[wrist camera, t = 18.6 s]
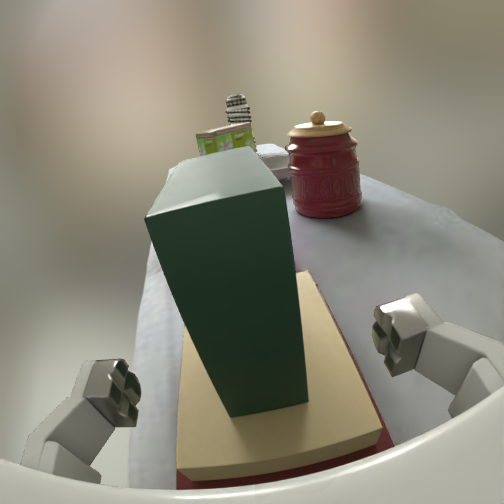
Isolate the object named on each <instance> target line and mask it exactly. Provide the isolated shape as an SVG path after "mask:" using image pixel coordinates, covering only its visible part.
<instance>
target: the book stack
mask: <svg viewBox="0 0 504 504" xmlns="http://www.w3.org/2000/svg"><path fill="white" fill-rule="evenodd" d="M296 278H297V286H298V295H299V303H300V312H301V321H302V331H303V341H304V351H305V361H306V372H307V384H308V396H309V402H307V403H303V404H299V405H295V406H290V407H286V408H281V409H277V410H272V411H267V412H262V413H256V414H251V415H245V416H239V417H232V418H230V417H229V415H228V413H227V411H226V409H225V407H224V406H223V404H222V402H221V400H220V398H219V396H218V394H217V392H216V390H215V388H214V386H213V384H212V382H211V380H210V378H209V376H208V374H207V372H206V370H205V368H204V365H203V363H202V361H201V359H200V357H199V355H198V353H197V351H196V348H195V346H194V344H193V342H192V340H191V337H190V335H189V333H188V331H187V328H186V326H185V325H184V335H183V346H182V358H181V371H180V385H179V401H178V420H177V445H176V469H177V490H199V489H217V488H229V487H239V486H248V485H255V484H262V483H269V482H274V481H280V480H285V479H290V478H295V477H300V476H304V475H309V474H313V473H317V472H321V471H324V470H328V469H332V468H335V467H339V466H342V465H345V464H348V463H351V462H355V461H358V460H361V459H363V458H366V457H369V456H372V455H375V454H377V453H380V452H383V451H385V450H388V449H390V448H393V447H394V444H393V442H392V440H391V437H390V435H389V433H388V431H387V428H386V426H385V424H384V421H383V419H382V417H381V415H380V412H379V410H378V408H377V406H376V404H375V401H374V399H373V397H372V395H371V393H370V391H369V388H368V386H367V384H366V382H365V380H364V378H363V376H362V373H361V371H360V369H359V367H358V365H357V363H356V361H355V359H354V357H353V355H352V353H351V351H350V348H349V346H348V344H347V342H346V340H345V338H344V336H343V334H342V332H341V330H340V328H339V326H338V324H337V322H336V320H335V318H334V316H333V314H332V312H331V310H330V308H329V306H328V304H327V302H326V300H325V299H324V297H323V295H322V293H321V291H320V289H319V287H318V285H317V284H315V283H314V281H313V279H312V277H311V275H310V273H309V272H308V270H307V271H303V272H298V273H296Z"/></svg>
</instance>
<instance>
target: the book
mask: <svg viewBox="0 0 504 504" xmlns="http://www.w3.org/2000/svg"><path fill="white" fill-rule="evenodd" d="M144 220H145V223H146V225H147V229H148V232H149V234H150V237H151V240H152V243H153V246H154V248H155V251H156V254H157V257H158V259H159V262H160V265H161V267H162V270H163V272H164V275H165V278H166V280H167V283H168V285H169V288H170V290H171V293H172V295H173V298H174V300H175V302H176V305H177V307H178V310H179V312H180V314H181V317H182V319H183V321H184V324H185V326H186V328H187V331H188V333H189V335H190V337H191V340H192V342H193V344H194V346H195V348H196V351H197V353H198V355H199V357H200V359H201V361H202V363H203V365H204V368H205V370H206V372H207V374H208V376H209V378H210V380H211V382H212V384H213V386H214V388H215V390H216V392H217V394H218V396H219V398H220V400H221V402H222V404H223V406H224V407H225V409H226V411H227V413H228V415H229V417H230V418H232V417H239V416H245V415H251V414H256V413H262V412H267V411H272V410H277V409H281V408H286V407H290V406H295V405H299V404H303V403H307V402H309V396H308V384H307V372H306V361H305V351H304V341H303V331H302V321H301V312H300V303H299V295H298V286H297V278H296V270H295V262H294V254H293V247H292V240H291V232H290V225H289V218H288V211H287V205H286V198H285V191H284V187H283V186H282V184H281V183H280V182H279V181H278V179H277V178H276V177H275V176H274V175H273V173H272V172H271V171H270V170H269V168H268V167H267V166H266V165H265V164H264V162H263V161H262V160H261V159H260V158H259V156H258V155H257V154H256V153H255V152H254V150H253V149H252V148H251V147H250V146H245V147H240V148H236V149H231V150H226V151H222V152H217V153H213V154H208V155H204V156H200V157H196V158H192V159H188V160H184V161H181V162H180V163H179V164H178V166H177V167H176V169H175V170H174V172H173V173H172V175H171V176H170V178H169V179H168V181H167V182H166V184H165V186H164V187H163V189H162V190H161V192H160V194H159V195H158V197H157V198H156V200H155V202H154V203H153V205H152V206H151V208H150V210H149V211H148V213H147V215H146V216H145V219H144Z"/></svg>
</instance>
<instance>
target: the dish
mask: <svg viewBox="0 0 504 504" xmlns="http://www.w3.org/2000/svg"><path fill="white" fill-rule="evenodd" d="M260 159H261V160H262V161H263V162H264V164H265V165H266V166H267V167H268V168H269V170H270V171H271V172H272V173H273V175H274V176H275V177H276V178H277V179H278V181H280V180H282V179H284V178H287V177H289V176H290V172H289V168H288V163H289V154H283V155H272V156H267V157H262V158H260Z"/></svg>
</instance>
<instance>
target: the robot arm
mask: <svg viewBox="0 0 504 504" xmlns="http://www.w3.org/2000/svg"><path fill="white" fill-rule="evenodd" d="M374 317H375V319H376V320H377V321H376V322H375V324H374V325H373V328H372V336H373V342H374V344H375V347H376V349H377V351H378V353H380V354H382V355H384V356H385V360H384V363H385V365H386V367H387V369H388V370H389V372H390V374H391V376H392V377H394V376H397V375H400V374H402V373H405V372H408V371H410V370H413V369H415V371H417V372H419V373H420V374H422V375H423V376H425V377H427V378H428V379H430V380H431V381H433V382H435V383H436V384H438V385H440V386H441V387H443V388H444V389H446V390H448V391H449V392H451V393H452V394H454V395H456V396H455V398H454V399H453V401H452V403H451V404H450V406H449V409H448V412H449V413H450V415H451V417H452V419H451V420H449V421H447V422H445V423H443V424H442V425H440V426H438V427H436V428H434V429H432V430H430V431H428V432H426V433H424V434H422V435H420V436H418V437H415V438H413V439H411V440H409V441H407V442H404V443H402V444H400V445H397V446H395V447H393V448H390V449H388V450H385V451H383V452H380V453H377V454H375V455H372V456H369V457H366V458H363V459H361V460H358V461H355V462H351V463H348V464H345V465H342V466H339V467H335V468H332V469H328V470H324V471H321V472H317V473H313V474H309V475H304V476H300V477H295V478H290V479H285V480H280V481H274V482H269V483H262V484H255V485H248V486H239V487H229V488H217V489H199V490H158V489H140V488H128V487H118V486H109V485H102V484H100V481H101V475H100V473H99V472H98V471H96V470H95V469H93V468H92V467H90V465H91V463H92V462H93V460H94V459H95V457H96V456H97V455H98V453H99V452H100V450H101V449H102V447H103V446H104V444H105V443H106V442H107V440H108V438H109V437H110V436H111V434H112V433H113V431H114V430H115V427H136V424H137V418H138V409H137V407H136V404H137V403H138V402H139V401H140V398H141V387H140V383H139V381H138V378H137V377H136V376H135V374H133V373H131V372H129V371H128V367H129V365H128V364H127V363H126V362H125V360H124V359H109V360H96V361H85V362H84V363H83V364H82V365H81V368H80V371H79V373H78V376H77V379H76V382H75V385H74V388H73V390H72V393H71V397H67V398H66V399H65V400H64V401H63V402H62V403H61V404H60V405H59V406H58V407H57V408H56V409H55V410H54V411H53V412H52V413H51V414H50V415H49V416H48V417H47V418H46V419H45V420H44V421H43V422H42V423H41V424H40V425H39V426H38V427H37V428H36V429H35V430H34V431H33V432H32V433H31V434H30V435H29V436H28V439H27V443H26V446H25V449H24V453H23V456H22V460H21V464H20V465H18V464H15V463H12V462H10V461H7V460H4V459H1V458H0V504H504V343H501V342H499V341H496V340H494V339H491V338H488V337H486V336H483V335H481V334H478V333H476V332H473V331H471V330H468V329H465V328H463V327H460V326H458V325H455V324H453V323H450V322H448V321H447V322H443V321H442V320H441V319H440V318H439V317H438V315H437V314H436V313H435V312H434V311H433V309H432V308H431V307H430V306H429V305H428V304H427V303H426V301H425V300H424V299H423V298H422V297H421V296H420V295H419V294H417V293H414V294H411V295H408V296H405V297H403V298H400V299H397V300H394V301H391V302H387V303H384V304H381V305H378V306H376V308H375V310H374Z"/></svg>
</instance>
